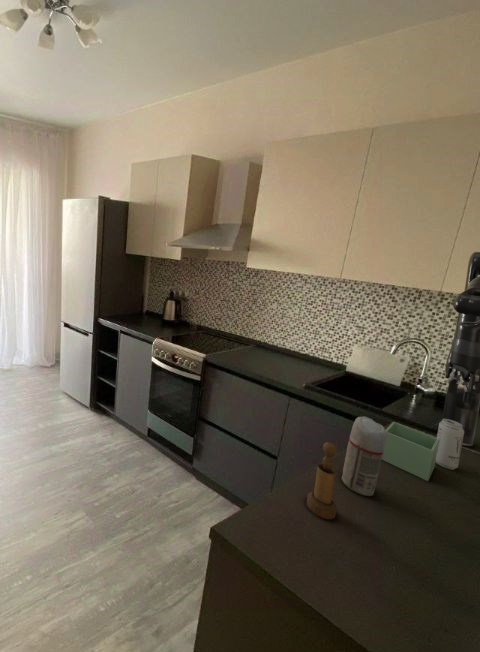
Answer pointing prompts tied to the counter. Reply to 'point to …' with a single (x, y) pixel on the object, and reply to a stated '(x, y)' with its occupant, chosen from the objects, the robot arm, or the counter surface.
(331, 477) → the mortar and pestle
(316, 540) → the counter surface
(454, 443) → the energy drink can
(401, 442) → the waste bin
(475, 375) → the robot arm
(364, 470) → the spray can
